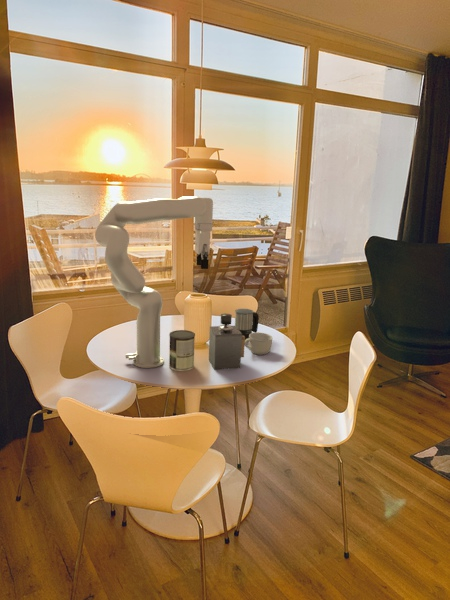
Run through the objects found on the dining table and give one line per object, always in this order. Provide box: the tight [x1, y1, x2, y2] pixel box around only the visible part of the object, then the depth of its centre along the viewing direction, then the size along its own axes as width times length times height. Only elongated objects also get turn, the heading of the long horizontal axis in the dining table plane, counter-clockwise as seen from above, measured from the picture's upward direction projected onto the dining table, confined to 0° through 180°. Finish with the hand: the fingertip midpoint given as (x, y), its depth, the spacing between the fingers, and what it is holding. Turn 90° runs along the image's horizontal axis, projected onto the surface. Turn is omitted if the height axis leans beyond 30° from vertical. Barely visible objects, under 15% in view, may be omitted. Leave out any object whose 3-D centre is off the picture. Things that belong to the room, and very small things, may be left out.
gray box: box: [208, 325, 245, 371], centre depth 180 cm, size 14×11×15 cm
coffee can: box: [168, 329, 196, 372], centre depth 176 cm, size 10×10×14 cm
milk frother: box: [234, 308, 260, 343], centre depth 216 cm, size 14×16×15 cm
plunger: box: [218, 313, 233, 331], centre depth 179 cm, size 8×8×18 cm
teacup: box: [244, 331, 274, 356], centre depth 196 cm, size 14×11×8 cm
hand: (202, 266), depth 188 cm, fingers open, 9 cm apart
